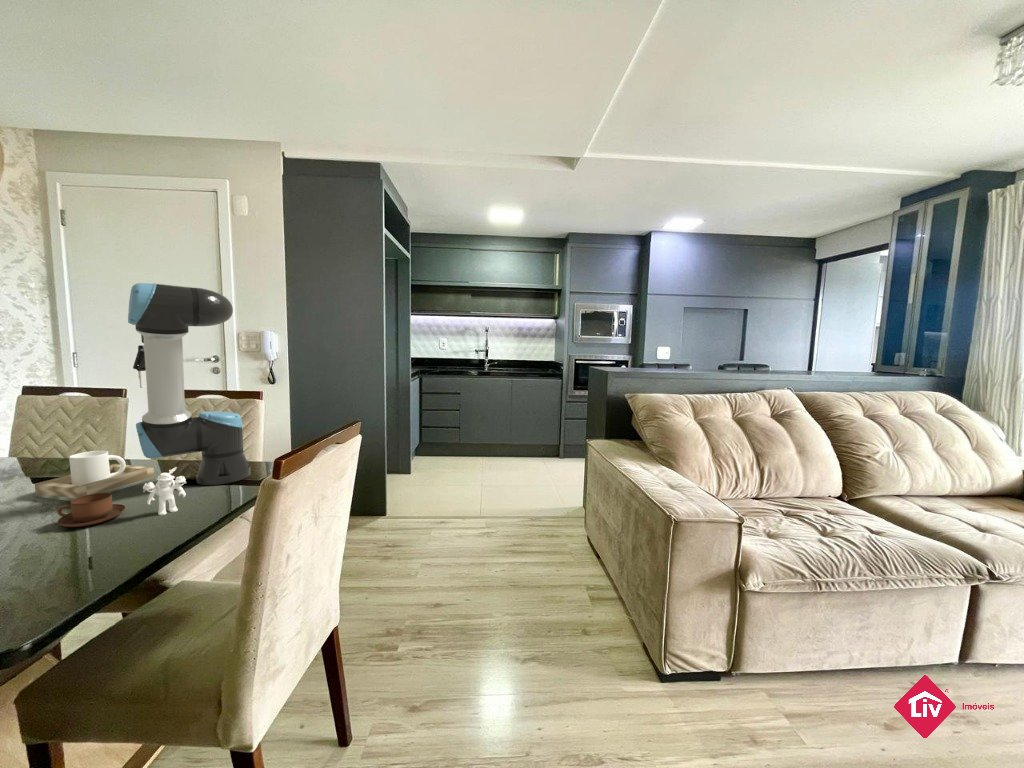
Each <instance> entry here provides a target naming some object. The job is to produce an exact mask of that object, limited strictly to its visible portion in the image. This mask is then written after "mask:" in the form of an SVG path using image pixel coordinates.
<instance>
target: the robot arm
mask: <svg viewBox="0 0 1024 768" xmlns="http://www.w3.org/2000/svg"><path fill="white" fill-rule="evenodd" d="M130 288H131V289H130V293H129V301H128V313H127V315H128V316H127V322H128V324H131V325H133V326H134V325H135V326H134V327H135V331H136V332H137V333H139V334H140V336H141V343H142V345H138V346H137V353H136V356H135V359H134V362H133V366H132V368H133V370H136V371H137V372H138V379H139V387H140V388H141V389H144V388H145V389H146V394H147V395H146V397H147V409H148V411H147V412H146V413H144V414H143V415H142V417H141V421H139V422H137V423H136V424H135V428H136V433H137V437H138V441H139V444H140V448H141V452H142V454H143V456H144V457H145V458H147V459H158V458H166V457H167V458H168V457H173V456H180V455H187V454H194V453H201V460H200V463H199V467H198V471H197V473H196V477H195V478H196V483H197V484H198V485H200V486H201V485H202V486H216V485H217V486H219V485H224V484H225V485H226V484H229V483H234V482H238V481H241V480H244V479H246V478H248V477H250V476H251V475H252V474H251V472H252V471H251V466H250V465H249V463H248V459H247V458H246V456H245V453H244V436H243V435H244V434H243V428H244V425H243V421H242V420H243V419H242V416H241V415H240V413H238V412H232V411H219V410H217V411H216V410H207V411H201V412H199V413H198V416H195V417H192V412H190V411H189V410H187V409H186V405H185V403H186V401H185V400H186V399H185V378H184V377H185V376H184V371H185V370H184V353H183V352H184V351H183V338H184V337H185V336H186V335H187V334H189V327H211V326H216V325H220V324H223V323H226V322H228V321H229V320H230V319H231V317H232V316H233V313H234V307H233V305H232V303H231V301H230V300H229V299H228V298H227V297H226V296H225V295H222V294H221V293H218V292H216V291H215V290H214V291H213V290H210V289H206V288H203V287H202V288H201V287H192V286H191V287H190V286H182V285H181V286H180V285H171V284H162V283H161V284H160V283H155V282H153V283H148V282H147V283H144V282H142V283H141V282H138V283H135V284H133V285H132V287H130Z"/></svg>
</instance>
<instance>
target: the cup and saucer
mask: <svg viewBox="0 0 1024 768" xmlns="http://www.w3.org/2000/svg"><path fill="white" fill-rule="evenodd" d="M69 503H70V504H64V505H62V506H59V507H58V509H57V511H56V512H57V515H58V516H60V518H59V519H58V521H57V522H58V524H59V525H60V526H63V527H65V528H80V527H87V526H92V525H97V524H101V523H104V522H107V521H109V520H111V519H114V518H116V517H118V516H120V515H121V514H122V513H123V512H125V510H126V505H124V504H119V503H113V496H112V492H111V493H96V494H90V495H86V496H82V497H79V498H76V499H74V500H72V501H69ZM64 508H69V509H71V511H70V512H69V513H62V510H63V509H64Z"/></svg>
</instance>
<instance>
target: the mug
mask: <svg viewBox="0 0 1024 768" xmlns="http://www.w3.org/2000/svg"><path fill="white" fill-rule="evenodd" d="M68 460H69V468H70V469H69V470H70V475H71V481H72V485H78V486H81V485H85V484H88V483H92V482H96V481H99V480H103V479H107V478H110V477H114V476H118V475H120V474H121V473H122V472H123V471H124V470H125V467H126V465H127V464H126V461H125V459H124V458H122V456H119V455H117V454H116V455H115V454H109V451H108V450H93V451H92V450H91V451H86V452H85V451H83V452H80V453H75V454H72V455H70V456H69V457H68ZM113 460H114V461H117V462H118V464H120V469H119V470H118V471H117V472H115V473H111V474H110V467H109V465H110V461H113Z"/></svg>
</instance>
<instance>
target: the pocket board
mask: <svg viewBox="0 0 1024 768" xmlns="http://www.w3.org/2000/svg"><path fill="white" fill-rule="evenodd" d="M109 467H110V474H111V473H115V472H117V471H118V470H119V469H120V463H113V464H109ZM155 477H156V476H155V468H154V467H152V466H151V467H150V466H149V467H148V466H140V465H130V464H126V467H125V470H124V471H123V472H122V473H121V474H120V475H118V476H114V477H110V478H107V479H103V480H99V481H96V482H92V483H88V484H85V485H81V486H78V485H72V481H71V474H69V475H65V476H61V477H60V476H59V477H56V478H52V479H49V480H44V481H40V482H37V483H34V489H35V491H34V492H35V497H37V498H44V499H50V500H51V499H52V500H57V501H67V502H71V501H72V500H74V499H76V498H79V497H82V496H86V495H90V494H96V493H111V494H112V493H114V492H117V491H120V490H124V489H127V488H130V487H134V486H136V485H137V486H138V485H140V484H143V483H144V484H145V483H148V482H151V481H153V480H155V479H156V478H155Z"/></svg>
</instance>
